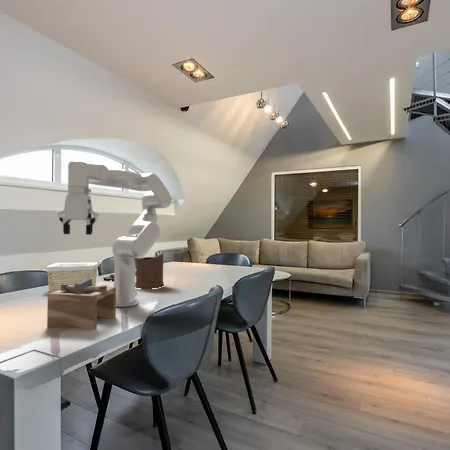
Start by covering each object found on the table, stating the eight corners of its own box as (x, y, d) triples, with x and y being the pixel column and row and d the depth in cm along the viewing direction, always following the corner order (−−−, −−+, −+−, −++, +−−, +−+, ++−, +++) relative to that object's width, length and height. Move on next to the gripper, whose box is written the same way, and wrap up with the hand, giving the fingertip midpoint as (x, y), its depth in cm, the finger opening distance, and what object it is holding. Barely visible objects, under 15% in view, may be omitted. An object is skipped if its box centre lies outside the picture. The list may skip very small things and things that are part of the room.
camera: (108, 279, 213) (108, 273, 213) (120, 280, 209) (120, 274, 209) (102, 280, 209) (102, 274, 209) (114, 282, 205) (114, 275, 205)
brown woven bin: (161, 290, 179) (162, 246, 179) (119, 289, 180) (120, 246, 180) (167, 284, 198) (168, 244, 198) (130, 283, 198) (130, 244, 198)
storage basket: (44, 293, 168) (45, 265, 168) (55, 287, 184) (56, 262, 184) (91, 292, 173) (92, 265, 173) (98, 286, 188) (98, 261, 189)
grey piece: (86, 298, 124) (86, 278, 124) (92, 298, 124) (91, 278, 123) (75, 305, 116) (74, 283, 116) (81, 305, 116) (80, 284, 115)
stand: (74, 314, 129) (75, 280, 129) (115, 316, 126) (116, 282, 127) (47, 326, 113) (47, 288, 113) (93, 329, 111) (94, 290, 111)
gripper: (103, 193, 129) (102, 234, 129) (64, 193, 132) (64, 233, 132) (93, 191, 122) (92, 235, 122) (52, 191, 124) (51, 234, 124)
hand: (77, 234), depth 127 cm, fingers open, 9 cm apart
